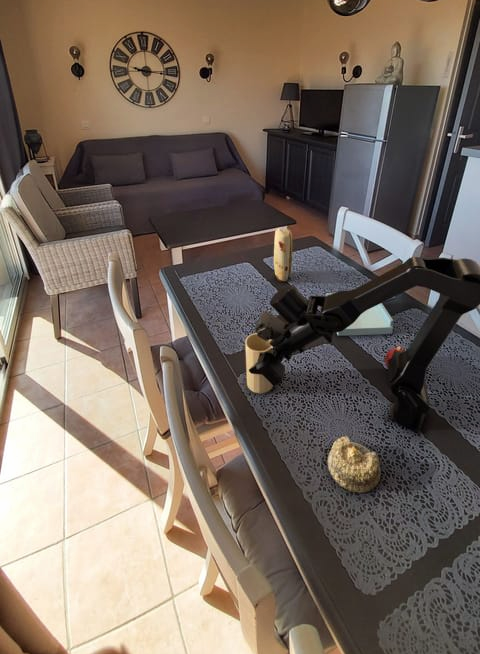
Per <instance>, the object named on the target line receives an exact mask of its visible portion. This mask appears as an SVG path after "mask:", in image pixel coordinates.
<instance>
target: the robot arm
mask: <svg viewBox="0 0 480 654" xmlns="http://www.w3.org/2000/svg"><path fill="white" fill-rule="evenodd" d="M415 287H421V288H426V289H428V290H430V291H433V292H436V293H438V294H439V297H438V299H437V300H436V302H435V304H434V305H433V307H432V309H431V310H430V312H429V314H428V315H427V316H426V319H425V320H424V322H423V323H422V325H421V327H420V328H419V330H418V331H417V332H416V335H415V337H414V338H413V340H412V341H411V342H410V345H409V346H408V348H407V349H406V350H404V352H399V351H397V350H394V353H393V356H392V357H391V358H390V359H389V360H388V368H387V374H388V376H387V377H388V383H389V386H390V387H389V390H390V392H391V393H392V395H394V402H393V404H392V406H391V408H390V410H389V413H388V415H387V419H388V420H389V421H391V422H393V423H395V424H397V425H399V426H401V427H402V428H403V427H404V428H405V429H407V430H409V431H411V432H413V433H414V434H419V433H420V432H421V428H422V426H423V424H424V423H423V422H424V420H425V418H426V414H427V413H428V411H430V409H431V406H430V401H429V395H428V391H427V383H426V375H427V370H428V367H429V365H430V364H431V362H432V361H433V360H434V358H435V356H436V355H437V353H438V352H439V350H440V349H441V347H442V346H443V345H444V343H445V342H446V340H447V338H448V337H449V335H450V334H451V333H452V331H453V329H454V328H455V326H456V325H457V324H458V322H459V321H460V319H461V317H462V316H463V315H465V314H467V313H470V312H471V311H474V310H476V309H477V308H478V307H479V306H480V264H479V263H478V262H477V261H475V260H473V259H470V258H458V259H454V258H450V257H449V258H448V257H431V258H427V257H426V258H425V257H421V256H420V257H419V256H412V257H409V258H407V259H406V261H404V262H403V263H401V264H399V265H397V266H395V267H393V268H392V269H390V270H388V271H386V272H384V273H383V274H380V275H378V276H376V277H375V278H373V279H371V280H369V281H367V282H365V283H363V284H361V285H360V286H358V287H356V288H353V289H351V290H350V289H349V290H340V291H336V292H332V293H333V294H330V295H328V296H326V295H309V297H308V299H307V298H306V297H305V296H304V295H303V294H302V293H301V292H300V290H299V288H297V286H295V284H292V285H290V286H289V285H288V286H284V287H282V288H280V289H279V290H278V291H277V292H275V293H274V295H273V296H272V297H271V299H270V300H269V305H270V306H271V307H272V308H273V310H275V311H276V312H277V314H278V315H277V316H276V315H273V314H272V313H270V312H269V311H267V310H266V311H265V310H264V311H263V312H262V313H261V315H260V316H259V317H258V320H256V321H257V322H256V324H255V326H254V328H253V331H254V333H257V335H258V337H260V338H261V339H263V340H265V341H269V339H270V340H271V341H270V343H269V344H270V345H271V346H272V349H273V350H274V351H273V354H272V353H269V352H265V353H263V354H262V353H260V355H259V357H258V360H257V363H256V364H254V365H253V366H252V367H251V368H250V369H249V372H250V373H251V374H260V375H263V376H264V377H265V378H266V379H267V380H268V381H269V382H270V383H271V384H272V385H273V387H276V386H278V385H280V384H282V383H283V379H284V376H285V374H286V373H285V372H286V366H285V365H284V364H283V363H282V361H283V358H285V359H286V360H287V361H290V360H292V358H293V357H292V356H293V354H294V353H296V352H298V351H299V353H301V354H302V353H304V352H305V350H306V347H307V346H308V345H310V344H312V343H313V342H315V341H317V340H318V339H320V338H322V337H323V338H324V339H325V340H326V341H327V342H328V343H330V344H332V343H333V338H334V333H337V332H341V331H343V330H344V329H346V328H347V327H349V326H350V325H351V324H353V323H354V322H355V321H356V320H357V318H358V317H359V316H360V315H361V314H362V313H363V312H365V311H366V310H368V309H370V308H372V307H374V306H376V305H378V304H380V303H382V304H383V303H385V302H387V301H388V300H390V299H393V298H395V297H397V296H399V295H401V294H403V293H404V292H406V291H407V292H408V291H409V290H411V289H413V288H415ZM318 307H321V308H320V312H319V313H318Z"/></svg>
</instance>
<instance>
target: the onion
mask: <svg viewBox="0 0 480 654" xmlns="http://www.w3.org/2000/svg"><path fill="white" fill-rule="evenodd" d="M394 350H397V351H399V352H404V351H405V350H404V349H403V347H402V346H400V345H399V346H397V347H395V348H392V349H390V350H388V351H387V352H386V354H385V357H384V364H385V366H386V368H387V369H388V360H389V359H390V358H391V357H392V356H393V353H394Z"/></svg>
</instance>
